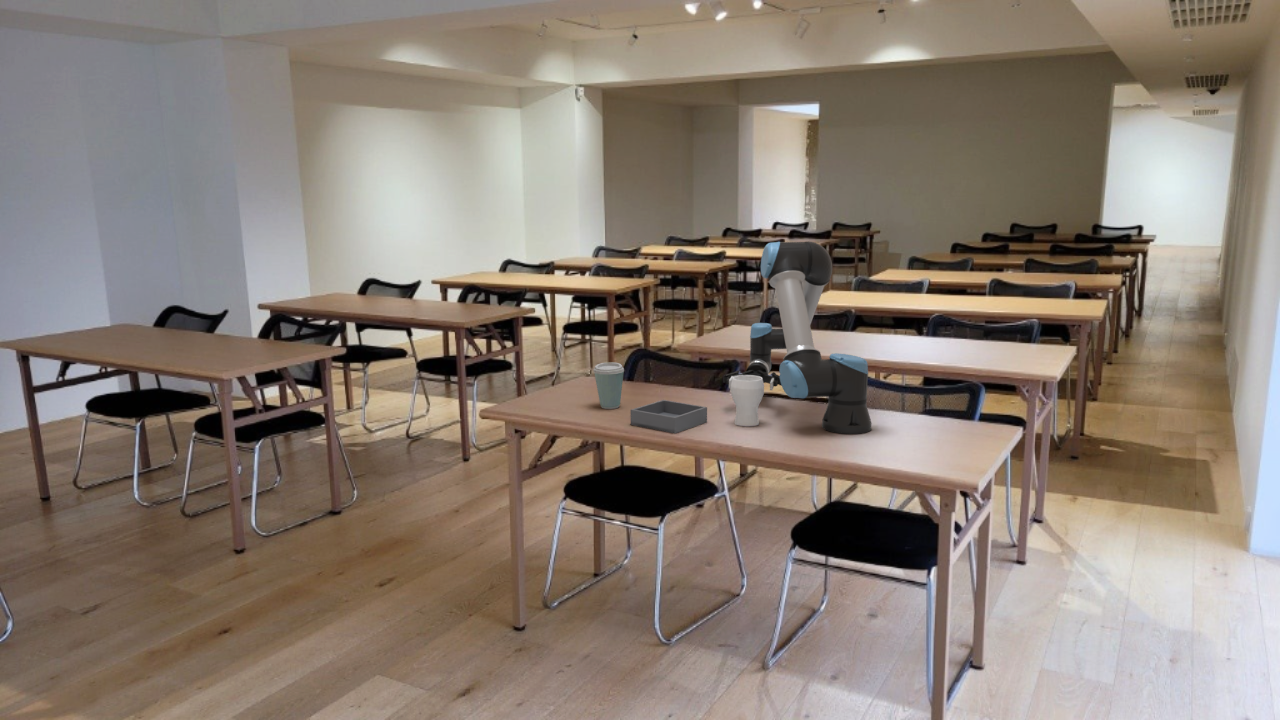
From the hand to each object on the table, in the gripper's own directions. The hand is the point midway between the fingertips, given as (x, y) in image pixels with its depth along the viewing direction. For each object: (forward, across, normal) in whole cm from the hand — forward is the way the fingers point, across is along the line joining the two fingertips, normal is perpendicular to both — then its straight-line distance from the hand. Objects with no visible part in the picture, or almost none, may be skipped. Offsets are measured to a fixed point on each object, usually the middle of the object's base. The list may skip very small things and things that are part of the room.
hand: (750, 385), depth 302 cm
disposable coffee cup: (-2, +49, -11) cm, 50 cm away
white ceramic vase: (+10, 0, -10) cm, 15 cm away
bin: (+15, +24, -10) cm, 31 cm away
